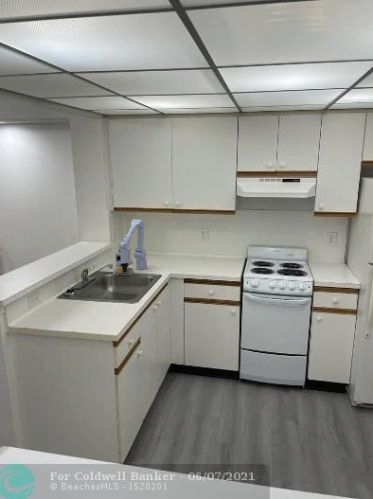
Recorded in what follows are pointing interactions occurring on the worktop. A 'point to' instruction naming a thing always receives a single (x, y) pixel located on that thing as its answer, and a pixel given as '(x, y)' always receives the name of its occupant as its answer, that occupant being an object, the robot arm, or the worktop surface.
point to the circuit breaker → (118, 256)
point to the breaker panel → (128, 271)
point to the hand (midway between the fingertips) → (124, 272)
